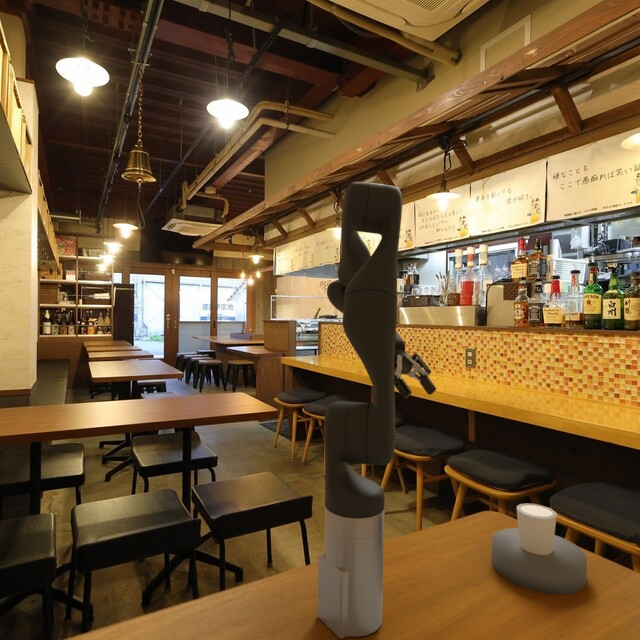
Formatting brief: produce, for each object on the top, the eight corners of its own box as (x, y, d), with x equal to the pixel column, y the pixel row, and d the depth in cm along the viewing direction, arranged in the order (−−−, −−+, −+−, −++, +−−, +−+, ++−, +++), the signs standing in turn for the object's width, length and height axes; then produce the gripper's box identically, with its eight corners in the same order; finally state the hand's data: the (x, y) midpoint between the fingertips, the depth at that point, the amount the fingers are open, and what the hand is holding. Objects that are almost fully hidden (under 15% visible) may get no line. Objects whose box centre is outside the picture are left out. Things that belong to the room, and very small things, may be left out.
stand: (557, 605, 74) (557, 581, 74) (474, 561, 87) (474, 541, 87) (603, 576, 83) (603, 554, 83) (521, 540, 96) (521, 521, 96)
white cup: (521, 535, 90) (521, 499, 90) (559, 546, 85) (560, 509, 85) (511, 548, 84) (512, 510, 84) (551, 560, 80) (552, 521, 80)
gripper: (369, 327, 98) (410, 385, 90) (410, 327, 108) (451, 380, 99) (351, 349, 102) (389, 408, 94) (392, 348, 112) (430, 401, 103)
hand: (421, 394), depth 96 cm, fingers open, 8 cm apart
